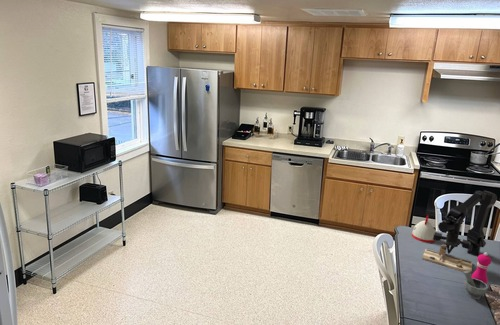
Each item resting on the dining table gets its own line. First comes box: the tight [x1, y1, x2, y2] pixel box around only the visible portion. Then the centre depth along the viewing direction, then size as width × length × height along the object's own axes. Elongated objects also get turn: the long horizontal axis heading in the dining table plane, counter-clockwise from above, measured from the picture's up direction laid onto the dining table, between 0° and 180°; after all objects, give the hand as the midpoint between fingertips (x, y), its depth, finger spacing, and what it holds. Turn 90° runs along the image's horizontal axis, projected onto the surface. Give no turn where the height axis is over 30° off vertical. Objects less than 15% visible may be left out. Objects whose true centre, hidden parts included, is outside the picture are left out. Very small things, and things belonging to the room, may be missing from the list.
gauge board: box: [421, 247, 473, 275], centre depth 212 cm, size 13×25×2 cm, turn 57°
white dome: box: [411, 215, 436, 243], centre depth 238 cm, size 14×14×15 cm
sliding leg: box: [438, 244, 447, 260], centre depth 213 cm, size 11×3×5 cm, turn 147°
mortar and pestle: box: [463, 271, 489, 300], centre depth 181 cm, size 11×9×12 cm
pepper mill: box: [471, 251, 492, 284], centre depth 187 cm, size 7×7×20 cm
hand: (448, 253), depth 213 cm, fingers closed
